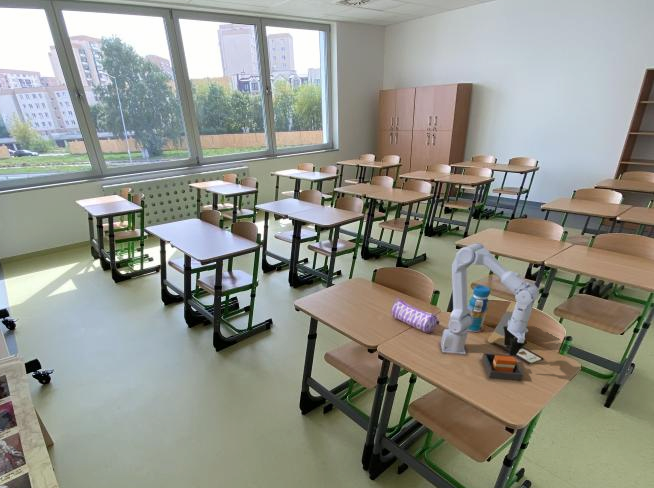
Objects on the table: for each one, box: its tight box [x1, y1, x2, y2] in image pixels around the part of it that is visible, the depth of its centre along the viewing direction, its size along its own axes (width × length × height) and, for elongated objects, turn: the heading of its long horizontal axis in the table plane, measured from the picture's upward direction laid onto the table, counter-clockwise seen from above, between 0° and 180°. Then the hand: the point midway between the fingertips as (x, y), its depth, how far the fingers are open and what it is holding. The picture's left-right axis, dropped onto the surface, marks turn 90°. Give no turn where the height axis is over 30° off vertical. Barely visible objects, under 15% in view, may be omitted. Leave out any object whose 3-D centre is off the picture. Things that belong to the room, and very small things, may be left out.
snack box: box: [492, 355, 517, 373], centre depth 153 cm, size 7×3×5 cm, turn 82°
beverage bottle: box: [467, 285, 491, 333], centre depth 179 cm, size 8×8×20 cm
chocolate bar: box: [492, 342, 544, 365], centre depth 167 cm, size 9×1×18 cm
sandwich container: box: [486, 301, 516, 347], centre depth 172 cm, size 9×15×15 cm, turn 131°
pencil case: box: [391, 297, 440, 334], centre depth 184 cm, size 22×9×10 cm, turn 42°
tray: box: [481, 352, 524, 382], centre depth 154 cm, size 12×14×4 cm
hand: (509, 350), depth 151 cm, fingers open, 7 cm apart
